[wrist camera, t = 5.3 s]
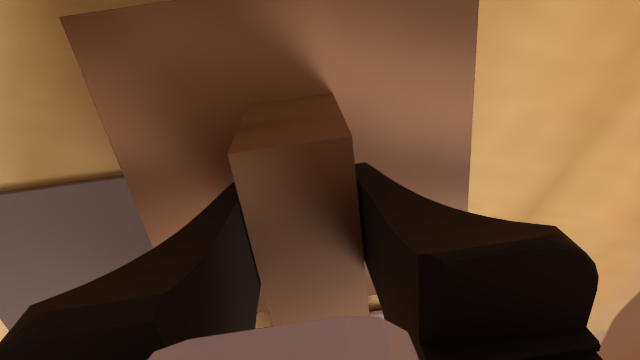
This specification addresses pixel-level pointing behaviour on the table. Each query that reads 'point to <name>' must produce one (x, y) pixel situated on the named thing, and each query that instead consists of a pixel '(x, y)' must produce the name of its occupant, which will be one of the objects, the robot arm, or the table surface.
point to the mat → (64, 239)
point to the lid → (285, 122)
